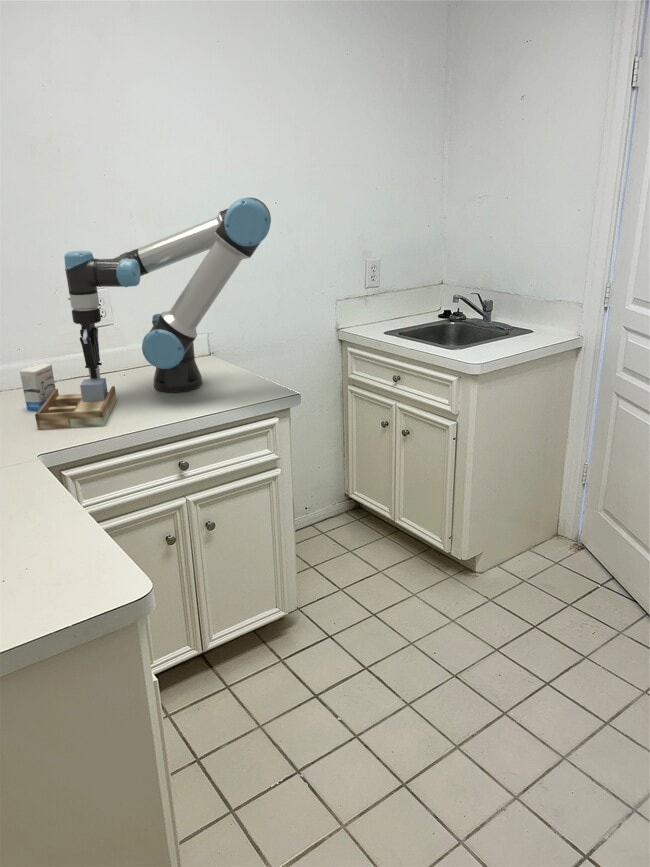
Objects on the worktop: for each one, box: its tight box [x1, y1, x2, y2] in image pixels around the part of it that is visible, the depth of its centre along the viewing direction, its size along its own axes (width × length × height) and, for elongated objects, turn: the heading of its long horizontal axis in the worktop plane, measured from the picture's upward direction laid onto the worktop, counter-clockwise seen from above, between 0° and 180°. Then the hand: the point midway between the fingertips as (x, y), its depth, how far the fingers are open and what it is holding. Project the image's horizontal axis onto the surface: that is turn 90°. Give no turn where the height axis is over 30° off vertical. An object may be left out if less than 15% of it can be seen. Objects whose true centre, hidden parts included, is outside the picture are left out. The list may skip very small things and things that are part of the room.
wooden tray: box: [34, 385, 117, 430], centre depth 180 cm, size 17×22×4 cm
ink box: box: [19, 363, 57, 412], centre depth 185 cm, size 9×5×12 cm, turn 168°
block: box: [79, 377, 109, 402], centre depth 185 cm, size 6×6×5 cm
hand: (96, 388), depth 190 cm, fingers closed
